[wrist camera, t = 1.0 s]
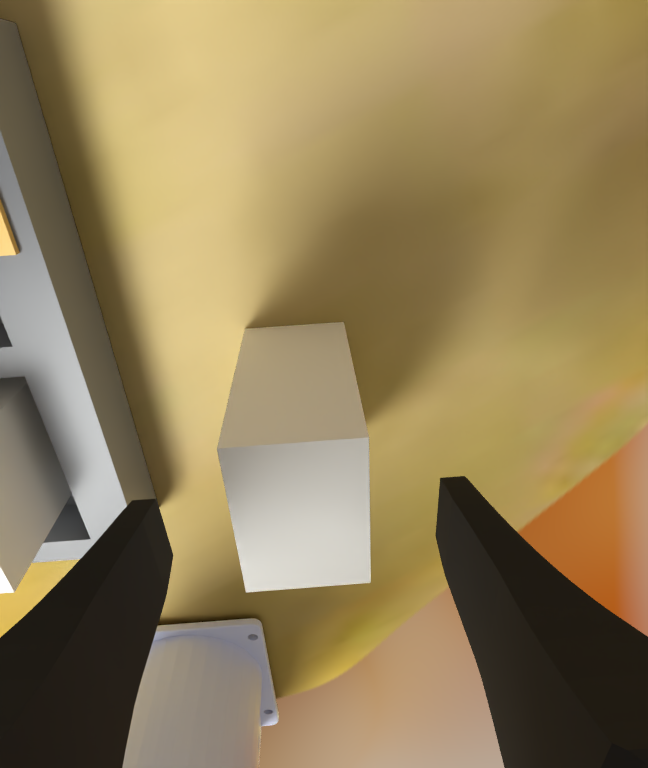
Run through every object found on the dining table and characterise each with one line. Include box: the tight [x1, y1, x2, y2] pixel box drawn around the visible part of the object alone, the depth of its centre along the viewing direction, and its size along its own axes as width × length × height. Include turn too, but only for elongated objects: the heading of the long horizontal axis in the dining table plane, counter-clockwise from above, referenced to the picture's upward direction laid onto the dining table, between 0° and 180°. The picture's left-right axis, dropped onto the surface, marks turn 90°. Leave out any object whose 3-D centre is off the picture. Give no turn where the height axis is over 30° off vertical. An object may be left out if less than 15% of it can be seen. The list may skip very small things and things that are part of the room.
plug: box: [217, 322, 371, 592], centre depth 16 cm, size 5×4×7 cm
